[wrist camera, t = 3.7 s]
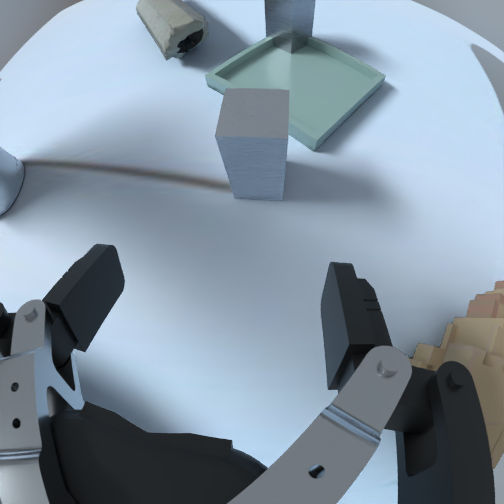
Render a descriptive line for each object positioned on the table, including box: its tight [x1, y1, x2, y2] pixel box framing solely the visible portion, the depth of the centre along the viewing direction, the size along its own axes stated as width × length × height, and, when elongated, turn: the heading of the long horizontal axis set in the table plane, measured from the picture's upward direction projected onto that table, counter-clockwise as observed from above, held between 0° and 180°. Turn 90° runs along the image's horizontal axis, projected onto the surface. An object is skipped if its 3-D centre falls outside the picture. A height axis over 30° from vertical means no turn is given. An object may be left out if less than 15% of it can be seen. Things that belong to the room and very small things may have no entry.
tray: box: [205, 36, 385, 151], centre depth 28 cm, size 16×16×2 cm
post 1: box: [215, 88, 290, 201], centre depth 21 cm, size 4×4×10 cm
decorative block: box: [136, 0, 209, 60], centre depth 30 cm, size 8×30×8 cm, turn 27°
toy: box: [408, 281, 504, 468], centre depth 16 cm, size 10×20×20 cm
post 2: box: [265, 0, 315, 54], centre depth 26 cm, size 4×4×10 cm
